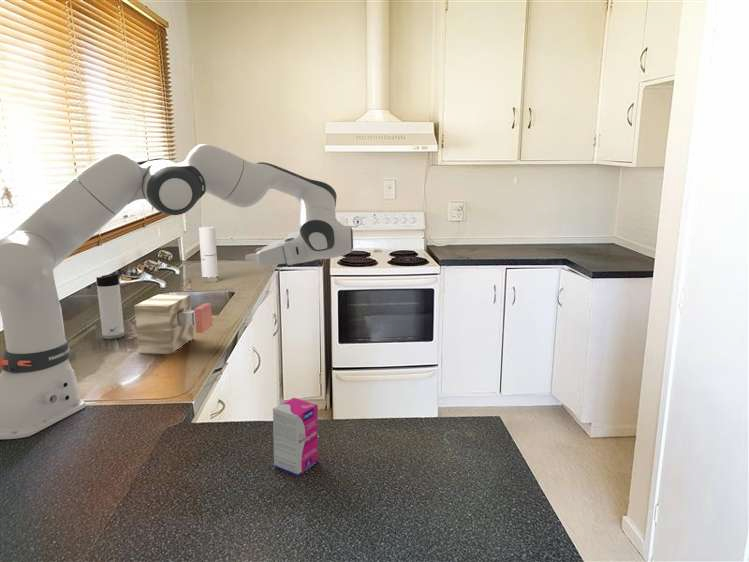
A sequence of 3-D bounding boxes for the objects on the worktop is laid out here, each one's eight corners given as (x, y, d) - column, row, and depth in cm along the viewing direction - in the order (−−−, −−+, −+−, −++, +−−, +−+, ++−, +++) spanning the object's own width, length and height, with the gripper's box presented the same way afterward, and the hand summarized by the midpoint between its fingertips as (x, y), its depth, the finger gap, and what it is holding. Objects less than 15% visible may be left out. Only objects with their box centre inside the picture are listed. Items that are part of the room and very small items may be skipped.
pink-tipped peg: (202, 332, 158) (201, 309, 156) (156, 331, 159) (154, 307, 158) (212, 325, 164) (211, 303, 163) (168, 324, 166) (166, 302, 165)
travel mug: (117, 340, 169) (110, 276, 165) (98, 338, 170) (91, 275, 166) (129, 334, 175) (123, 272, 171) (111, 332, 176) (104, 271, 172)
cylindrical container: (215, 283, 250) (212, 228, 245) (200, 283, 250) (196, 228, 245) (220, 279, 257) (217, 226, 252) (205, 279, 257) (201, 226, 252)
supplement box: (299, 478, 94) (297, 416, 92) (273, 468, 97) (270, 408, 95) (319, 462, 99) (318, 403, 97) (294, 453, 102) (292, 396, 100)
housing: (172, 354, 156) (168, 306, 153) (138, 352, 157) (134, 305, 154) (193, 338, 170) (190, 294, 167) (162, 337, 171) (158, 294, 168)
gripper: (303, 231, 165) (259, 238, 166) (287, 242, 145) (237, 250, 147) (307, 251, 166) (263, 258, 168) (291, 265, 146) (242, 273, 148)
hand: (251, 254), depth 157 cm, fingers open, 8 cm apart
